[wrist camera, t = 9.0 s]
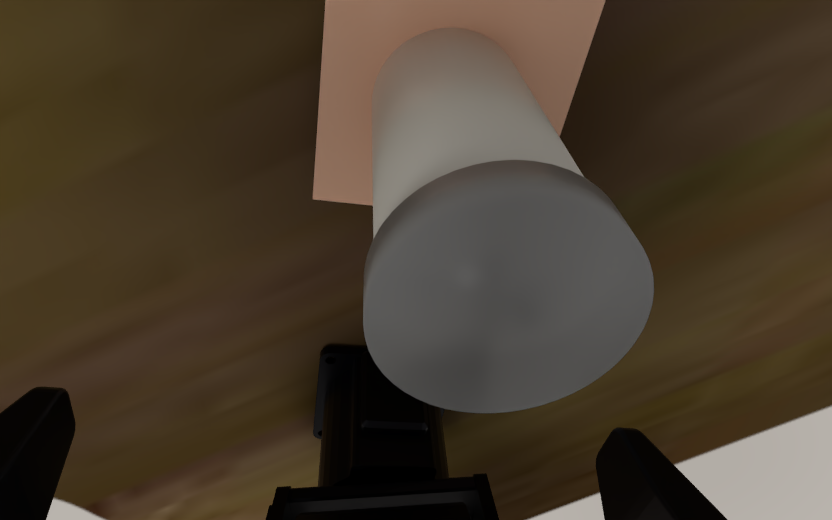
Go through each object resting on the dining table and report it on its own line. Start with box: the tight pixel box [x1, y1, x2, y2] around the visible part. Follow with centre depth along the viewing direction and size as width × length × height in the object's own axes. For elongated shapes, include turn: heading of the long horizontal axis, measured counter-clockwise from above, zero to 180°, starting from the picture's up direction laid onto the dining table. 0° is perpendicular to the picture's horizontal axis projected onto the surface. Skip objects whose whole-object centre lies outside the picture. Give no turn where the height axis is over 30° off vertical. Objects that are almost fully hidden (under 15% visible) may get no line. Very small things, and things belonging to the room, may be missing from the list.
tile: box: [313, 0, 605, 206], centre depth 19 cm, size 8×8×2 cm
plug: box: [363, 28, 654, 413], centre depth 14 cm, size 5×5×10 cm
